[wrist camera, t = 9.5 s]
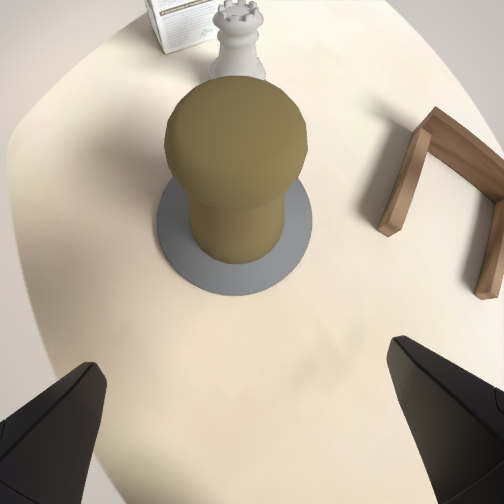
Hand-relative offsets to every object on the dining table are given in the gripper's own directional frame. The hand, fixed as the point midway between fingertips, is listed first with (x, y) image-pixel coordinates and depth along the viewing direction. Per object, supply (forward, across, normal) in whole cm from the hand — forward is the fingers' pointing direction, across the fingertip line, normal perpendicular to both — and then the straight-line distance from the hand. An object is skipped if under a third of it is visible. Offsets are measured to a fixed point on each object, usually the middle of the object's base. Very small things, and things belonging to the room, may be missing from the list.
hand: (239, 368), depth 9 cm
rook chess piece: (+21, +1, +7) cm, 22 cm away
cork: (+13, 0, -1) cm, 13 cm away
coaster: (+13, 0, -2) cm, 13 cm away
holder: (+14, +16, -3) cm, 21 cm away
